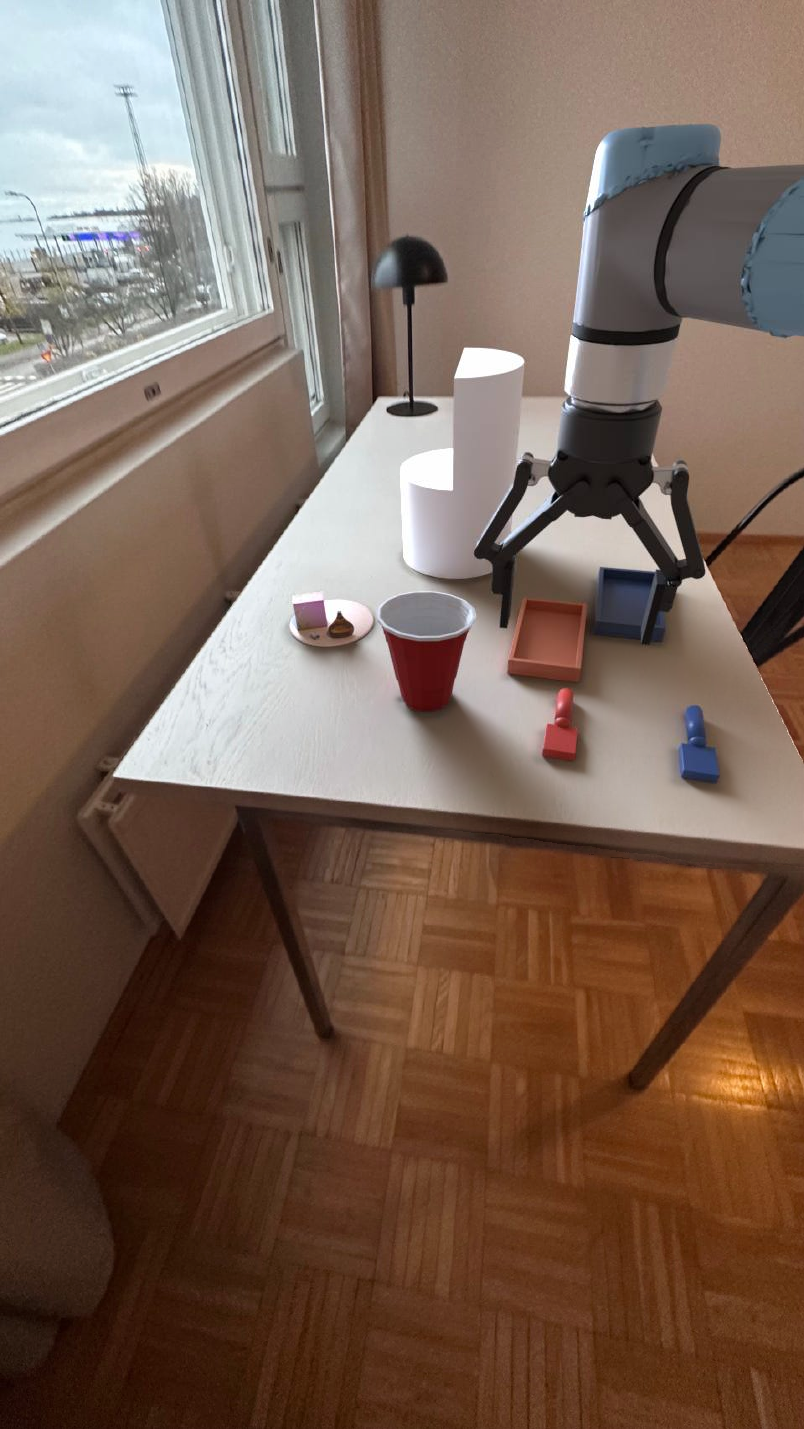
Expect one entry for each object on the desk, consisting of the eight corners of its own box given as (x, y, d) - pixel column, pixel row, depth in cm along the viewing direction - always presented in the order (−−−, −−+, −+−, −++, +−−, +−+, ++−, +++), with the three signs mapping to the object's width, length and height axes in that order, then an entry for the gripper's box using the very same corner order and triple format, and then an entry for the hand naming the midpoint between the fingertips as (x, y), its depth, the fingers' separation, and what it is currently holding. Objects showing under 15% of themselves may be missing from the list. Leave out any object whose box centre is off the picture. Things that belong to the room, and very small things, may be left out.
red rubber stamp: (550, 695, 75) (552, 683, 74) (580, 698, 74) (582, 687, 73) (541, 756, 67) (543, 744, 66) (574, 761, 67) (576, 749, 65)
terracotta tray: (584, 616, 88) (587, 603, 86) (578, 682, 77) (581, 668, 75) (521, 610, 90) (523, 597, 88) (506, 673, 79) (508, 659, 77)
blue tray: (658, 584, 93) (661, 572, 92) (661, 642, 82) (665, 628, 81) (597, 579, 95) (599, 566, 94) (593, 634, 84) (595, 620, 83)
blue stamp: (675, 711, 72) (679, 699, 71) (707, 716, 71) (711, 703, 70) (680, 777, 64) (685, 765, 63) (716, 783, 64) (721, 771, 62)
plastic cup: (488, 685, 77) (493, 599, 69) (444, 737, 70) (445, 648, 62) (412, 659, 82) (409, 576, 74) (364, 706, 75) (356, 620, 67)
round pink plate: (291, 652, 84) (286, 623, 81) (286, 606, 93) (281, 579, 90) (380, 639, 85) (378, 610, 82) (367, 595, 94) (364, 568, 91)
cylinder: (510, 531, 109) (524, 347, 90) (507, 581, 96) (524, 378, 78) (411, 528, 111) (405, 348, 93) (395, 576, 98) (385, 378, 80)
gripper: (781, 390, 49) (704, 622, 63) (463, 380, 54) (457, 596, 68) (800, 420, 43) (711, 667, 57) (444, 405, 49) (442, 634, 63)
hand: (573, 629), depth 63 cm, fingers open, 13 cm apart
